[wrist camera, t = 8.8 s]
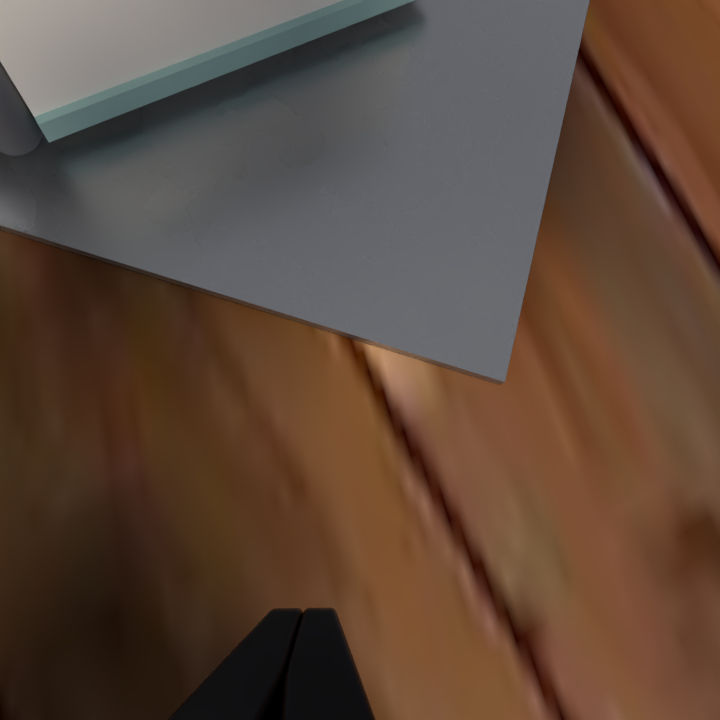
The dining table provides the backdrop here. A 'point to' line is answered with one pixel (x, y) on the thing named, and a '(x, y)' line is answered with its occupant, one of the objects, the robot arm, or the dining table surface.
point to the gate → (138, 53)
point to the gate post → (336, 178)
